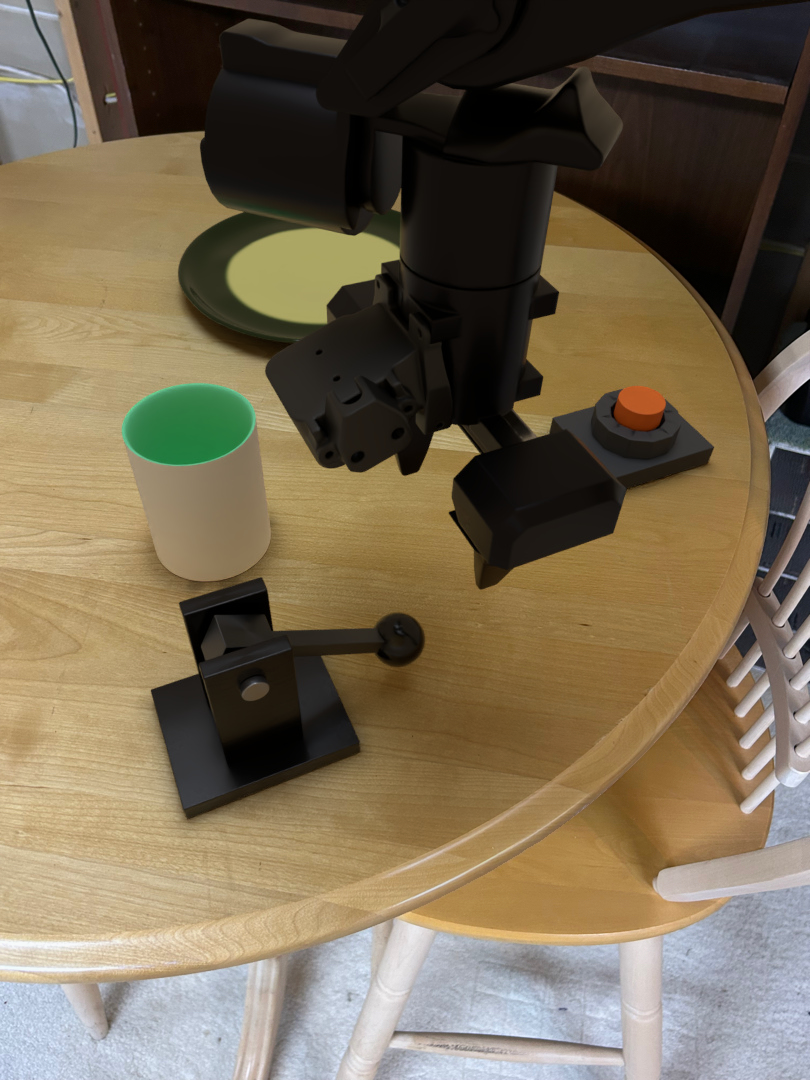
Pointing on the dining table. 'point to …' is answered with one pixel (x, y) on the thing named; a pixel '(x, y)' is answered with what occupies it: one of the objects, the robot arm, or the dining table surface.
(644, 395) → the button
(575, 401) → the dining table surface
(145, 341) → the dining table surface
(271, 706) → the switch
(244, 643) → the lever
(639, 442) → the button box
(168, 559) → the mug
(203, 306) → the plate
